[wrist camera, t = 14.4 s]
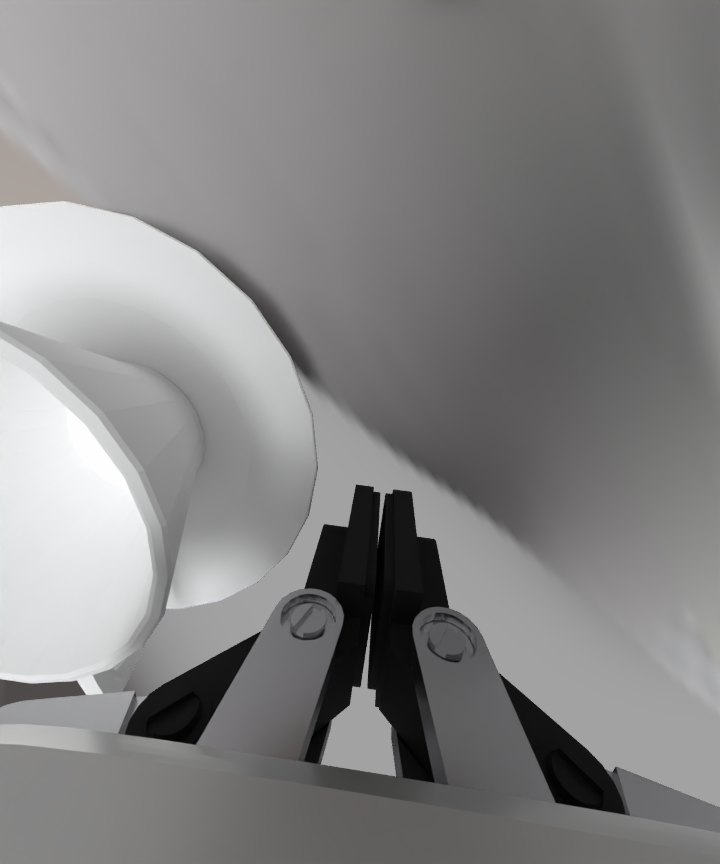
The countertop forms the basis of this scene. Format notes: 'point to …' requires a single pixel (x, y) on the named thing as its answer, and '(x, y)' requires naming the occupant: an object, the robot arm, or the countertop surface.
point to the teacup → (132, 441)
